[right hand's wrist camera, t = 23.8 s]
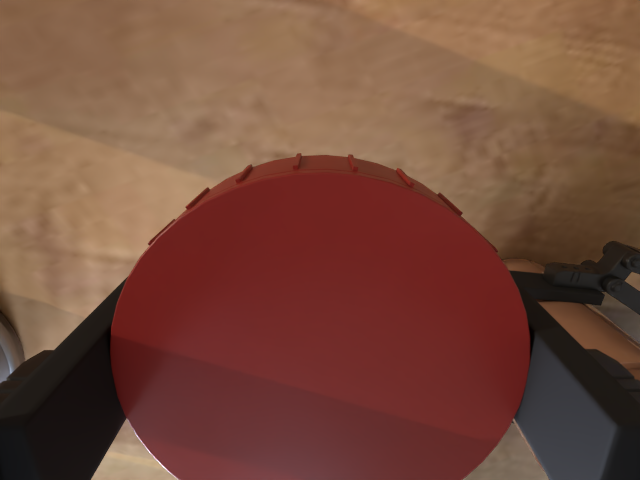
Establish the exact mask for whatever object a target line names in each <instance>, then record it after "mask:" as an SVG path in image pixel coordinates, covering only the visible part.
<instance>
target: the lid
mask: <svg viewBox="0 0 640 480" xmlns="http://www.w3.org/2000/svg"><path fill="white" fill-rule="evenodd" d="M186 208H187V210H186V211H184V212H183V213H182V214H181V215H180V216H179V217H178V218H177V219H176V220H175V219H173V220H172V221H171V222H170V223H169V224H168V225H167V226H166V227H165V228H164V229H163V230H161V231H160V232H159V233H158V234H157V235H156V236H155V237H154V238H153V239H152V240H150V242H149V243H148V245H150V246H149V247H148V248H147V250H146V251H145V252H144V253H143V254H142V255H141V257H140V258H139V260H138V261H137V263H136V265H135V266H134V268H133V270H132V271H131V273H130V275H129V276H128V278H127V280H126V282H125V284H124V287H123V289H122V292H121V294H120V297H119V299H118V301H117V305H116V309H115V313H114V318H113V322H112V326H111V340H110V359H111V368H112V373H113V378H114V383H115V388H116V392H117V397H118V399H119V401H120V404H121V406H122V409H123V411H124V414H125V416H126V418H127V420H128V422H129V423H130V425H131V427H132V428H133V430H134V432H135V433H136V435H137V437H138V438H139V439H140V441H141V442H142V443H143V445H144V446H145V447H146V448H147V450H148V451H149V452H150V454H151V455H152V456H153V457H154V458H155V459H156V460H157V461H158V462H159V463H160V464H161V465H162V466H163V467H164V468H165V469H166V470H167V471H169V472H170V473H171V474H172V475H174V476H175V477H176V478H177V479H179V480H462V479H464V478H465V477H466V476H467V475H468V474H470V473H471V472H472V471H473V470H474V469H475V468H476V467H477V466H478V465H480V464H481V463H482V462H483V461H484V460H485V458H486V457H487V456H488V455H489V454H490V453H491V452H492V450H493V449H494V448H495V447H496V446H497V445H498V443H499V442H500V440H501V439H502V437H503V436H504V434H505V433H506V431H507V430H508V428H509V427H510V425H511V423H512V421H513V419H514V417H515V415H516V412H517V410H518V408H519V406H520V404H521V400H522V397H523V394H524V390H525V386H526V381H527V376H528V370H529V365H530V332H529V326H528V320H527V313H526V310H525V307H524V304H523V301H522V298H521V295H520V292H519V289H518V287H517V286H516V284H515V282H514V280H513V278H512V276H511V274H510V272H509V270H508V268H507V266H506V265H505V264H504V262H503V261H502V260H501V258H500V257H499V256H498V254H497V253H496V252H498V251H497V249H496V248H495V247H494V246H493V245H492V244H491V243H490V242H489V241H488V240H486V239H485V238H484V237H483V236H482V235H481V234H480V233H479V232H478V231H477V230H476V229H475V228H474V227H472V226H471V225H470V224H469V223H468V222H467V221H466V220H465V219H464V218H463V217H461V215H462V212H461V211H460V210H459V209H458V208H457V207H456V206H454V205H453V204H452V203H451V202H450V201H449V200H448V199H447V198H446V197H444V196H443V195H442V194H441V193H439V194H438V195H437V194H435V193H434V192H433V191H431V190H430V189H429V188H427V187H426V186H424V185H423V184H421V183H420V182H418V181H416V180H414V179H412V178H410V177H408V176H407V175H406V174H405V173H404V172H403V171H402V170H401V169H399V168H397V170H393V169H391V168H388V167H385V166H383V165H380V164H377V163H373V162H369V161H364V160H360V159H356V158H354V157H353V155H348V157H340V156H329V155H317V156H301V153H299V154H297V155H296V157H292V158H286V159H280V160H274V161H271V162H268V163H265V164H261V165H258V166H255V167H252V165H249V166H247V167H246V168H245V169H244V171H242V172H240V173H238V174H236V175H234V176H232V177H230V178H228V179H226V180H224V181H223V182H221V183H220V184H218V185H217V186H215V187H213V188H212V189H209V188H208V187H207V188H206V189H205V190H204V191H203V192H201V193H200V194H199V195H198V196H197V197H196V198H195V199H194V200H193V201H191V202H190V203H189V204H188V205H187V206H186Z"/></svg>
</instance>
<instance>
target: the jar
mask: <svg viewBox="0 0 640 480" xmlns="http://www.w3.org/2000/svg"><path fill="white" fill-rule="evenodd" d="M502 261H503V262H504V264H505V265H506V266H507V268H508V270H512V271H522V272H532V273H542V274H543V273H544V270H545V267H543V266H542V265H540V264H538V263H536V262H533V261H530V260H526V259H504V260H502ZM535 300H536V301H537V302H538V303H539V304H540V305H541V306H542V307H543V308H544V309H545V310H546V311H547V312H548V313H549V314H550V315H551V316H552V317H553V318H554V319H555V320H556V321H557V322H558V323H559V324H560V325H561V326H562V327H563V328H564V329H565V330H566V331H567V332H568V333H569V334H570V335H571V336H572V337H573V338H574V339H575V340H576V341H577V342H578V343H579V344H580V345H581V346H582V347H583V348H584V349H598V350H599V351H601V352H603V353H604V354H606V355H608V356H610V357H611V358H613V359H615V360H617V361H618V362H619V363H620V364H622V365H623V366H624V367H625V368H626V369H627V370H628V371H629V372H630V373H631V374H632V375H633V376H634V378H635V379H638V380H639V381H640V343H638V342H637V341H636V340H635V339H633V338H632V337H631V336H630V335H628V334H627V333H626V332H625V331H623V330H622V329H621V328H620V327H618V326H617V325H616V324H615V323H613V322H612V321H611V320H610V319H608V318H607V317H606V316H605V315H603V314H602V313H601V312H600V311H598V310H597V309H596V308H595V307H593V306H592V305H591V304H582V303H571V302H561V301H551V300H540V299H535ZM513 422H514V423H515V425H516V427H517V429H518V430H519V432H520V434H521V435H522V437H523V439H524V441H525V442H526V444H527V446H528V447H529V449H530V451H531V453H532V454H533V456H534V458H535V459H536V461H537V463H538V465H539V466H540V467H541V468H542V469H543V467H542V466H541V464H540V462H539V461H538V459H537V457H536V455H535V454H534V452H533V450H532V448H531V447H530V445H529V443H528V442H527V440H526V438H525V436H524V435H523V433H522V431H521V430H520V428H519V426H518V424H517V423H516V421H515V419H513ZM543 471H544V469H543ZM544 472H545V471H544Z"/></svg>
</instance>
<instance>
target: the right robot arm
mask: <svg viewBox="0 0 640 480" xmlns="http://www.w3.org/2000/svg"><path fill="white" fill-rule="evenodd" d="M127 278H128V277H127ZM127 278H126V279H125V280H124V281H123V282H122V283H121V284H120V285H119V286H118V287H117V288H116V289H115V290H114V291H113V292H112V293H111V294H110V295H109V296H108V297H107V298H106V299H105V300H104V301H103V302H102V303H101V304H100V305H99V306H98V307H97V308H96V309H95V310H94V311H93V312H92V313H91V314H90V315H89V316H88V317H87V318H86V319H85V320H84V321H83V322H82V323H81V324H80V325H79V326H78V327H77V328H76V329H75V330H74V331H73V332H72V333H71V334H70V335H69V336H68V337H67V338H66V339H65V340H64V341H63V342H62V343H61V344H60V345H59V346H58V347H57V348H56V349H55V350H44V351H42V352H40V353H39V354H37V355H35V356H33V357H32V358H30V359H28V360H27V361H25V359H24V353H23V350H22V346H21V344H20V341H19V339H18V337H17V335H16V333H15V331H14V329H13V328H12V326H11V325H10V323H9V322H8V321H7V320H6V318H5V317H4V316H3V315H2V314H1V313H0V480H91V478H92V476H93V475H94V473H95V471H96V470H97V468H98V466H99V464H100V463H101V461H102V459H103V458H104V456H105V454H106V452H107V451H108V449H109V447H110V446H111V444H112V442H113V440H114V439H115V437H116V435H117V433H118V432H119V430H120V428H121V427H122V425H123V423H124V421H125V420H126V416H125V414H124V411H123V409H122V406H121V404H120V401H119V399H118V397H117V392H116V388H115V383H114V378H113V373H112V368H111V359H110V340H111V326H112V322H113V318H114V313H115V309H116V305H117V301H118V299H119V297H120V294H121V292H122V289H123V287H124V284H125V282H126V280H127ZM512 278H513V277H512ZM513 280H514V282H515V284H516V286H517V287H518V289H519V292H520V295H521V298H522V301H523V304H524V307H525V310H526V313H527V320H528V326H529V332H530V365H529V370H528V376H527V381H526V386H525V390H524V394H523V397H522V400H521V404H520V406H519V408H518V410H517V412H516V415H515V417H514V419H515V421H516V423H517V424H518V426H519V428H520V430H521V431H522V433H523V435H524V436H525V438H526V440H527V442H528V443H529V445H530V447H531V448H532V450H533V452H534V454H535V455H536V457H537V459H538V461H539V462H540V464H541V466H542V467H543V469H544V471H545V473H546V474H547V476H548V478H549V479H550V480H640V381H639V380H638V379H635V378H634V376H633V375H632V374H631V373H630V372H629V371H628V370H627V369H626V368H625V367H624V366H623V365H622V364H620V363H619V362H618V361H617V360H615V359H613V358H611V357H610V356H608V355H606V354H604V353H603V352H601V351H599V350H598V349H584V348H583V347H582V346H581V345H580V344H579V343H578V342H577V341H576V340H575V339H574V338H573V337H572V336H571V335H570V334H569V333H568V332H567V331H566V330H565V329H564V328H563V327H562V326H561V325H560V324H559V323H558V322H557V321H556V320H555V319H554V318H553V317H552V316H551V315H550V314H549V313H548V312H547V311H546V310H545V309H544V308H543V307H542V306H541V305H540V304H539V303H538V302H537V301H536V300H535V299H534V298H533V297H532V296H531V295H530V294H529V293H528V292H527V291H526V290H525V289H524V288H523V287H522V286H521V285H520V284H519V283H518V282H517V281H516V280H515V279H514V278H513Z"/></svg>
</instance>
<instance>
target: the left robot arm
mask: <svg viewBox="0 0 640 480" xmlns="http://www.w3.org/2000/svg"><path fill="white" fill-rule="evenodd" d="M603 254H604V256H603V257H602V258H601V260H600V261H599V262H598V263H595V262H594V261H592V260H586V261H584V262H582V263H581V264H580V265H575V264H565V263H555V262H554V263H550V264H546V267H545V270H544V273H543V274H542V273H532V272H522V271H512V270H509V272H510V274H511V276H512V277H513V278H514V279H515V280H516V281H517V282H518V283H519V284H520V285H521V286H522V287H523V288H524V289H525V290H526V291H527V292H528V293H529V294H530V295H531V296H532V297H533V298H534V299H540V300H551V301H561V302H571V303H582V304H592V305H601V304H602V301H603V299H604V296H605V295H604V294H603V293H601V292H607V293H608V294H610V295H611V296H613V297H614V298H616V299H617V300H619V301H620V302H622V303H623V304H625V305H626V306H628V307H629V308H631V309H632V310H634V311H635V312H636V313H638V314H639V315H640V291H638V290H637V289H635V288H634V287H632V286H631V285H629V284H628V283H626V282H625V279H626V278H627V277H628V276H629V274H630V273H631V272H635V273H638V274H640V249H637V248H634V247H631V246H628V245H625V244H622V243H619V242H617V241H611V242H608V243H607V244H606V245H605V246H604V248H603ZM600 291H601V292H600ZM512 423H514V422H513V421H512ZM514 424H515V423H514Z"/></svg>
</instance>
